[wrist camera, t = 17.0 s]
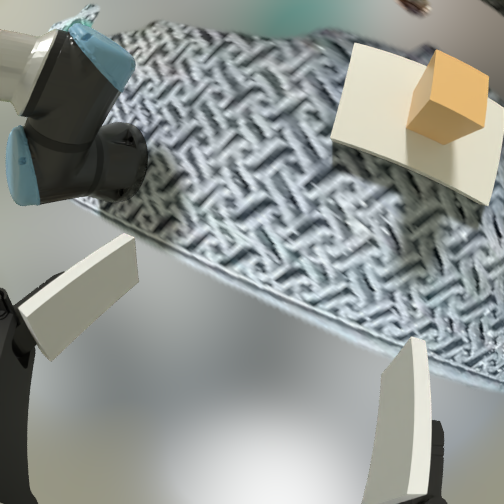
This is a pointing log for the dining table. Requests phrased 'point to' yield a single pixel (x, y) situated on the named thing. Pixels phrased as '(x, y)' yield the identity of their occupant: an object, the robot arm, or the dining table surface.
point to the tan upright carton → (448, 100)
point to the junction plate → (404, 140)
